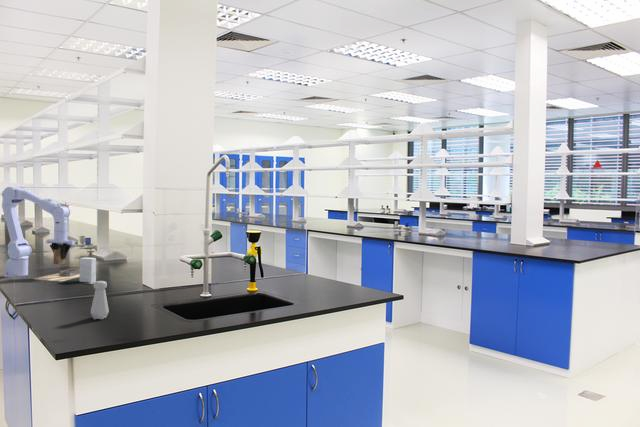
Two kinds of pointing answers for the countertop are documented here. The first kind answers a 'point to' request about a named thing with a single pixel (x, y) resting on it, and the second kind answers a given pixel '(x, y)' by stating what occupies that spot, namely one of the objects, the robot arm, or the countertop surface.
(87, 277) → the skincare box
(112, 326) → the countertop surface
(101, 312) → the salt shaker
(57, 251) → the tan upright block
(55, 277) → the clip board
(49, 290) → the countertop surface
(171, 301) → the countertop surface
